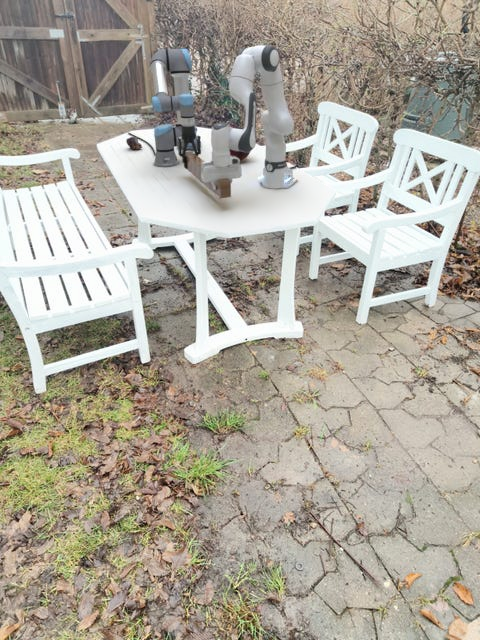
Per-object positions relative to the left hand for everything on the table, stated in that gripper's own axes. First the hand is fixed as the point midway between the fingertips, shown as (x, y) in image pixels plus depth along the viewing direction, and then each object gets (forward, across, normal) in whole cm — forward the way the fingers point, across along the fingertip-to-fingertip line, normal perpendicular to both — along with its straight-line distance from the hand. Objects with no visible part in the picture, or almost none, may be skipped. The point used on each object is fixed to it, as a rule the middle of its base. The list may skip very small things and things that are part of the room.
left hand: (190, 167), depth 263 cm
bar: (0, -1, -25) cm, 25 cm away
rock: (+8, -14, +86) cm, 87 cm away
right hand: (-3, -1, -51) cm, 51 cm away
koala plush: (+8, +23, +71) cm, 75 cm away
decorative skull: (+7, +40, +27) cm, 49 cm away
